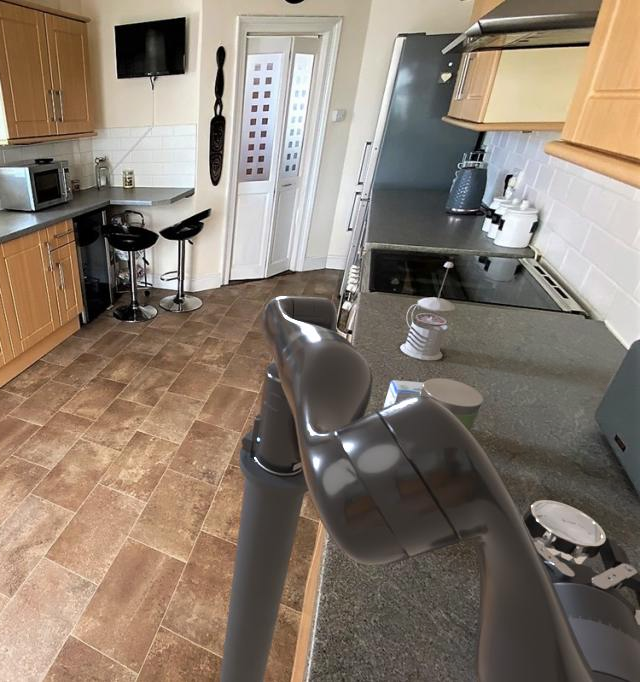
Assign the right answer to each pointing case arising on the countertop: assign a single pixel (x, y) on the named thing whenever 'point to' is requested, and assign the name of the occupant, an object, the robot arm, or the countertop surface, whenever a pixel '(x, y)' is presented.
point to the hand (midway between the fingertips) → (557, 527)
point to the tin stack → (455, 398)
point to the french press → (426, 346)
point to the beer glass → (565, 531)
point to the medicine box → (402, 391)
